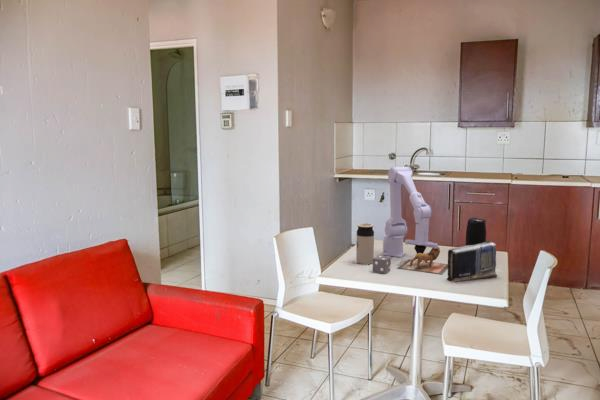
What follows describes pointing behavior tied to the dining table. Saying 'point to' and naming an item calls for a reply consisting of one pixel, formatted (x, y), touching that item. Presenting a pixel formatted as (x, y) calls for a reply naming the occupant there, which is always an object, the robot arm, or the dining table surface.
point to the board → (424, 267)
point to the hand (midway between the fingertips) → (420, 261)
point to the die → (381, 264)
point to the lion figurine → (426, 257)
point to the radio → (472, 262)
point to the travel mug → (365, 243)
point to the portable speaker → (475, 231)
